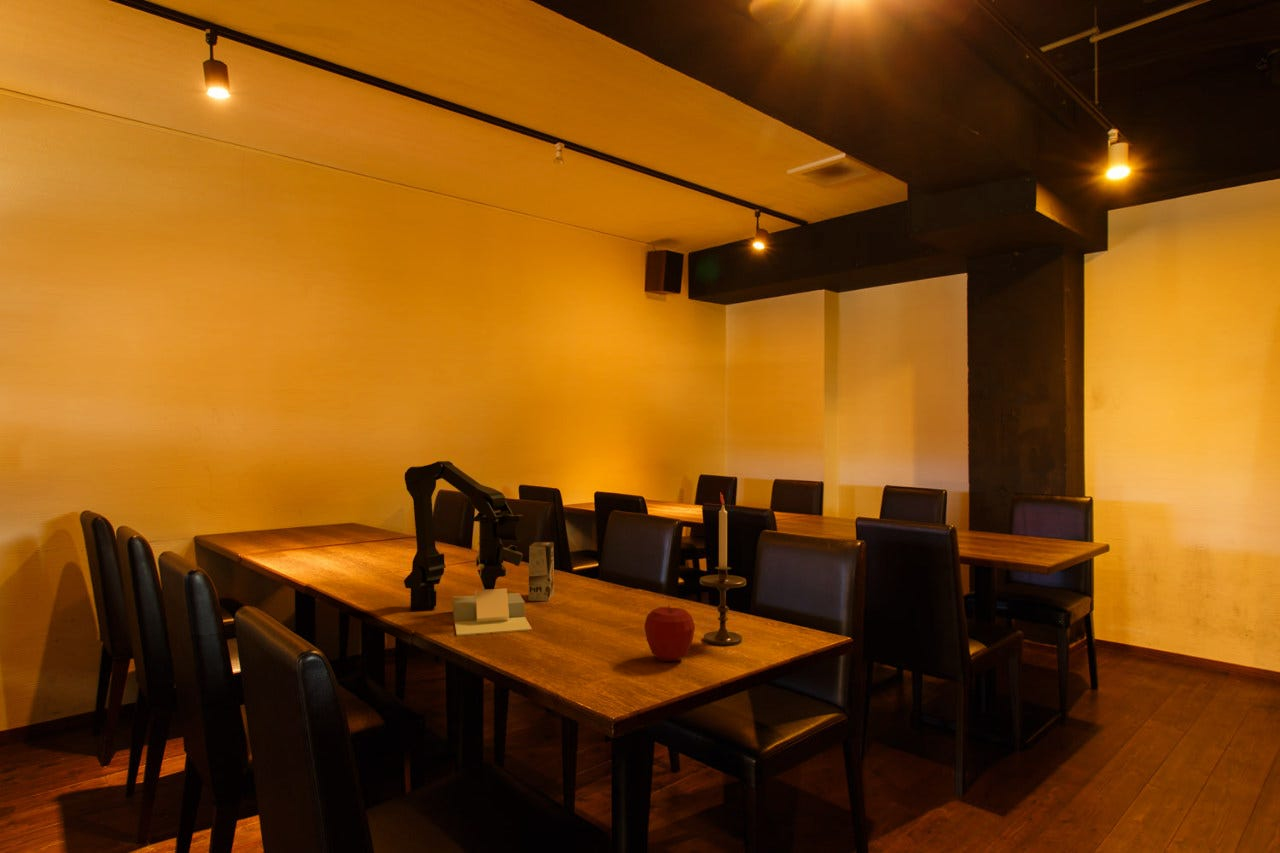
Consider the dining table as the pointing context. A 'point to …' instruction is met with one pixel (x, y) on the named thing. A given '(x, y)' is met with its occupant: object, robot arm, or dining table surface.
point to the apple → (669, 632)
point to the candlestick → (722, 587)
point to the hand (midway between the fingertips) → (489, 597)
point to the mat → (492, 626)
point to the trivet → (491, 605)
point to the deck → (467, 607)
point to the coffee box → (541, 571)
